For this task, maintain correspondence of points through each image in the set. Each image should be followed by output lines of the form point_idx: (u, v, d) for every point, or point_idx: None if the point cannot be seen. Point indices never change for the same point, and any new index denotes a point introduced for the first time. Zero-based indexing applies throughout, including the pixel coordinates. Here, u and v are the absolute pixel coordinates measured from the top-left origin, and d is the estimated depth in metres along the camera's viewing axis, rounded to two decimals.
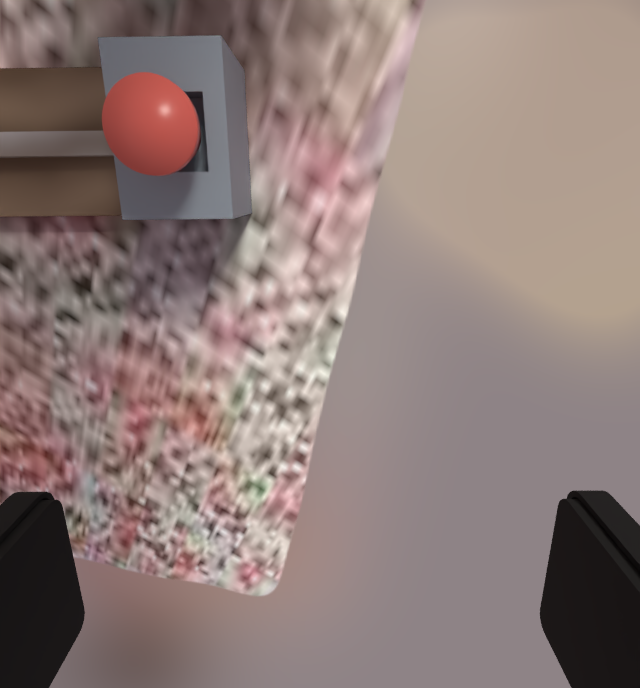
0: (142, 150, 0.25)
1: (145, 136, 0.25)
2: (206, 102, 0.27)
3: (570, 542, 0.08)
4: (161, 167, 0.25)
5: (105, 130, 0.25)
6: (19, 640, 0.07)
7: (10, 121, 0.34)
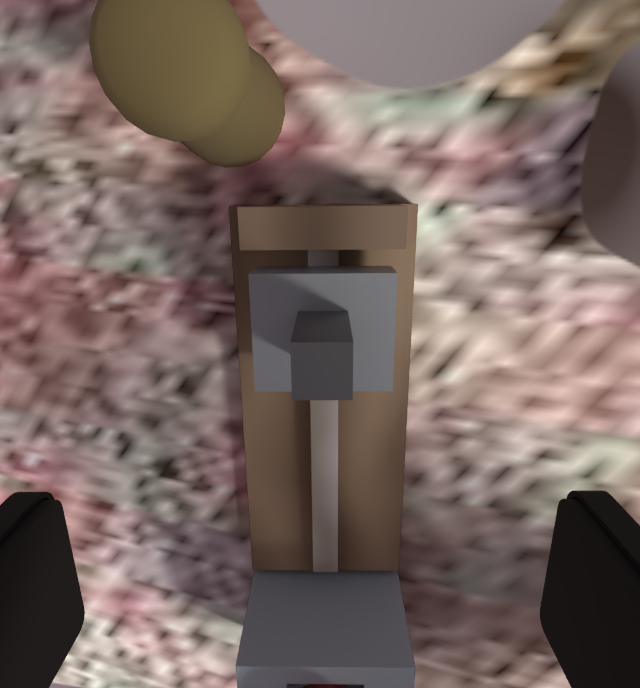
0: None
1: None
2: None
3: (570, 542, 0.08)
4: None
5: None
6: (19, 640, 0.07)
7: (351, 449, 0.29)
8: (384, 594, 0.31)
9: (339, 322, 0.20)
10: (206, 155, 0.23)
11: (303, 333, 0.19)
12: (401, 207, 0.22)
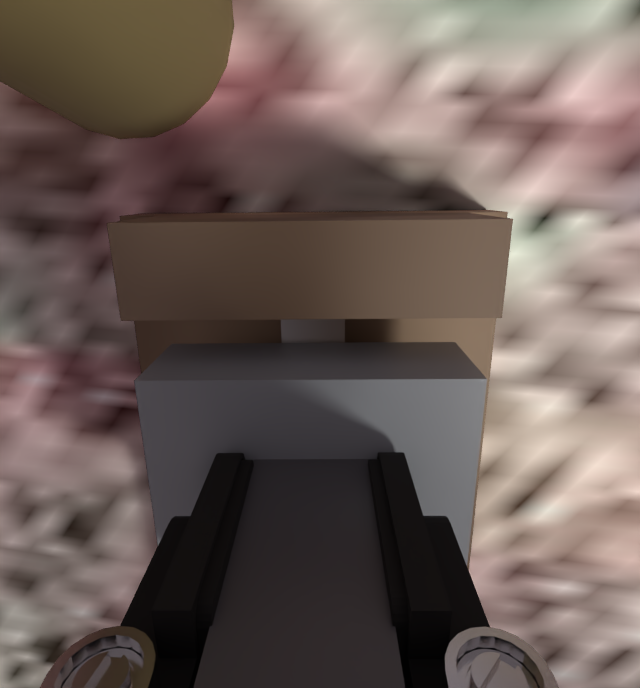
0: None
1: None
2: None
3: None
4: None
5: None
6: None
7: None
8: None
9: (351, 528, 0.08)
10: (54, 106, 0.11)
11: (246, 614, 0.06)
12: (496, 223, 0.09)
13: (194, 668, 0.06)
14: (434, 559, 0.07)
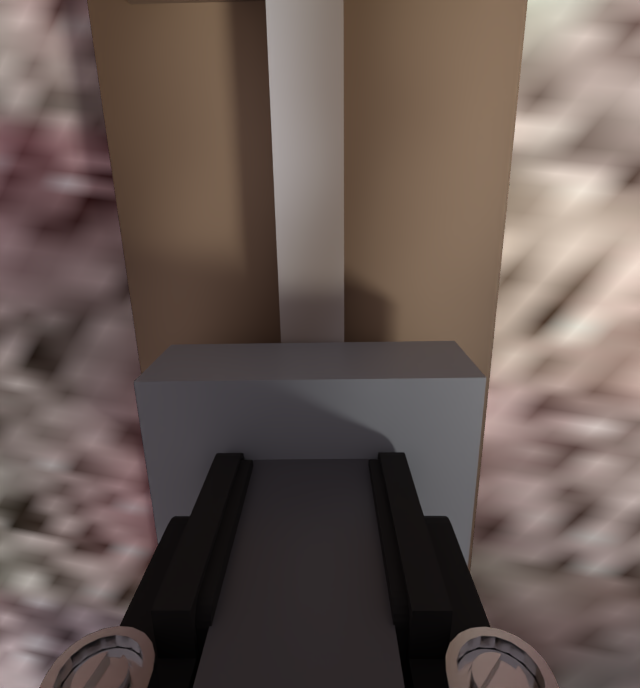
0: None
1: None
2: None
3: None
4: None
5: None
6: None
7: None
8: None
9: (351, 528, 0.08)
10: None
11: (245, 614, 0.06)
12: None
13: (193, 668, 0.06)
14: (434, 559, 0.07)
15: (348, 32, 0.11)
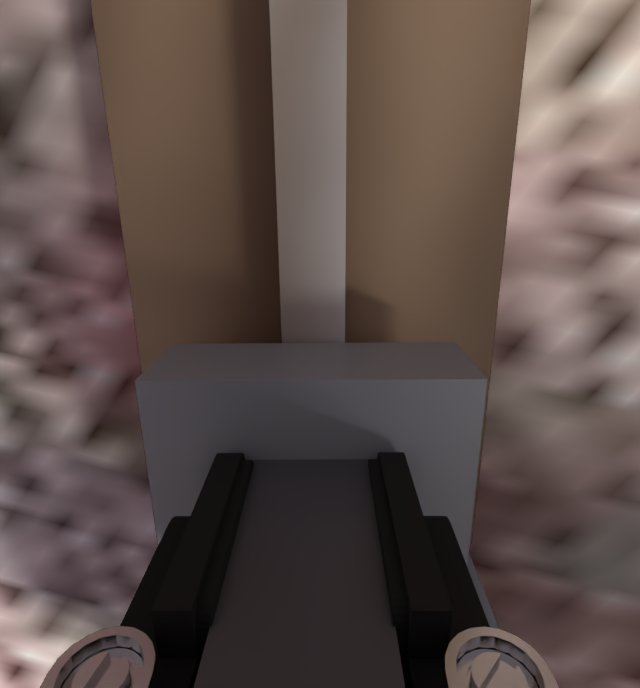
0: None
1: None
2: None
3: None
4: None
5: None
6: None
7: (375, 252, 0.12)
8: None
9: (352, 528, 0.08)
10: None
11: (246, 615, 0.06)
12: None
13: (194, 668, 0.06)
14: (434, 559, 0.07)
15: None
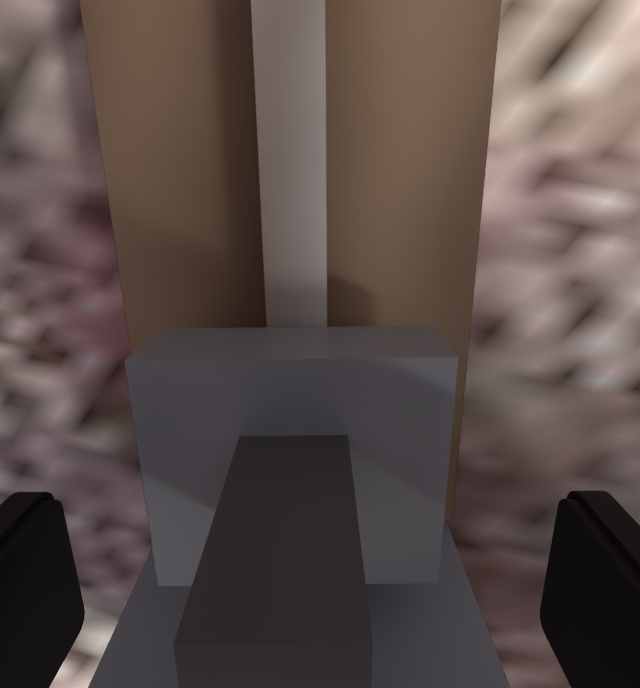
0: None
1: None
2: None
3: (570, 542, 0.08)
4: None
5: None
6: (19, 640, 0.07)
7: (356, 239, 0.13)
8: None
9: (329, 495, 0.08)
10: None
11: (228, 568, 0.07)
12: None
13: None
14: None
15: None
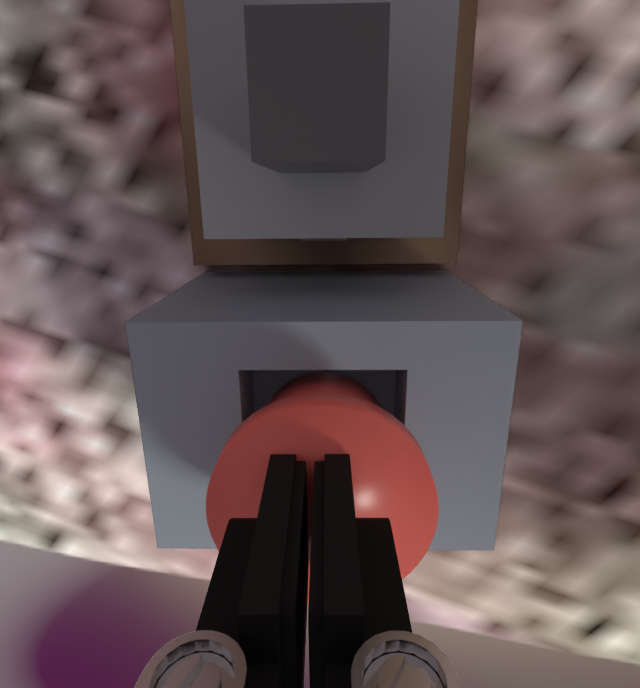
0: None
1: None
2: None
3: None
4: None
5: (309, 415, 0.09)
6: (303, 578, 0.08)
7: None
8: (433, 284, 0.16)
9: None
10: None
11: None
12: None
13: (278, 673, 0.06)
14: (357, 562, 0.07)
15: None
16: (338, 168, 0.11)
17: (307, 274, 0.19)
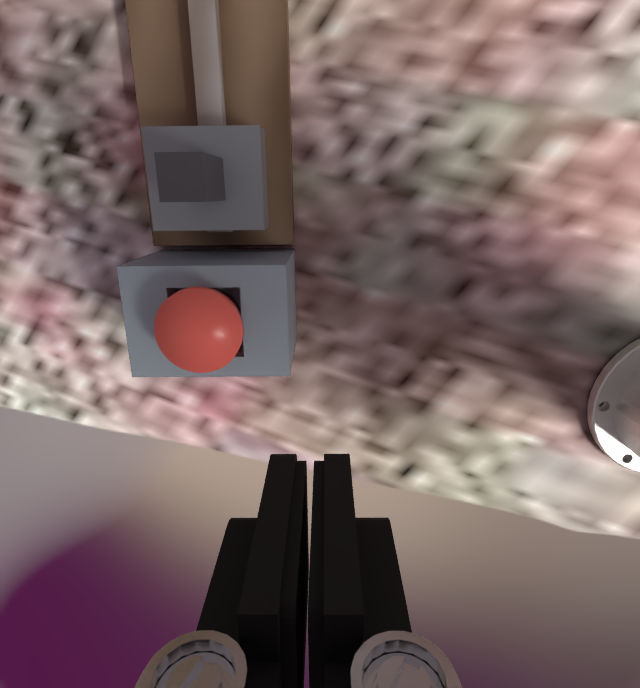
0: (175, 323, 0.27)
1: (188, 327, 0.27)
2: (234, 359, 0.29)
3: None
4: (162, 339, 0.27)
5: (189, 291, 0.26)
6: (303, 578, 0.08)
7: (237, 99, 0.31)
8: (274, 254, 0.32)
9: None
10: None
11: None
12: None
13: (279, 673, 0.06)
14: (357, 562, 0.07)
15: None
16: None
17: (216, 251, 0.34)
